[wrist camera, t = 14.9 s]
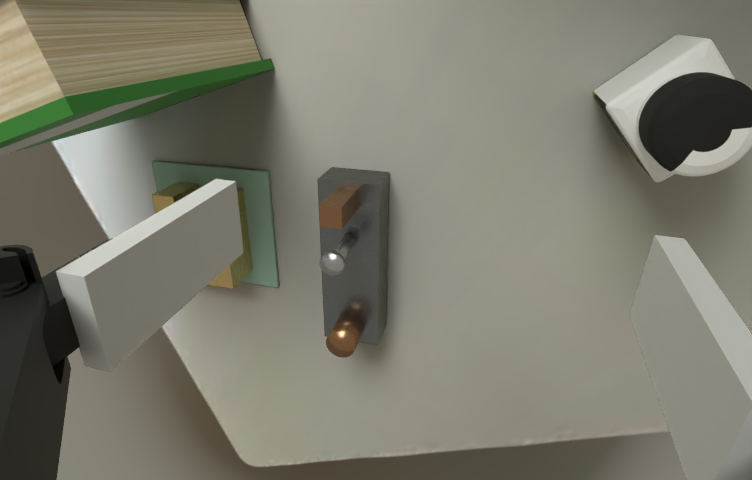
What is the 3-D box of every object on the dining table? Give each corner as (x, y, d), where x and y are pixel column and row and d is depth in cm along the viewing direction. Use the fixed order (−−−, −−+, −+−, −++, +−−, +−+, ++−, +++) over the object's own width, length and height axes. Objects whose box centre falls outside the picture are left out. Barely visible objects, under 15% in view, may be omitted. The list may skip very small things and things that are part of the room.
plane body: (331, 167, 49) (295, 197, 41) (389, 172, 47) (363, 204, 39) (336, 316, 56) (307, 366, 48) (386, 324, 55) (364, 377, 47)
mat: (154, 160, 54) (151, 161, 54) (269, 171, 51) (267, 172, 50) (175, 270, 60) (173, 272, 60) (279, 285, 57) (277, 287, 56)
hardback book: (244, -15, 44) (-7, -41, 23) (274, 68, 46) (73, 114, 25) (103, 47, 50) (-198, 72, 29) (136, 117, 52) (-118, 188, 31)
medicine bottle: (590, 91, 40) (617, 119, 30) (678, 32, 37) (743, 39, 26) (635, 159, 41) (676, 209, 31) (724, 108, 38) (803, 143, 28)
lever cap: (178, 181, 54) (146, 197, 49) (243, 187, 52) (216, 205, 47) (192, 260, 58) (164, 282, 53) (252, 269, 56) (229, 292, 52)
